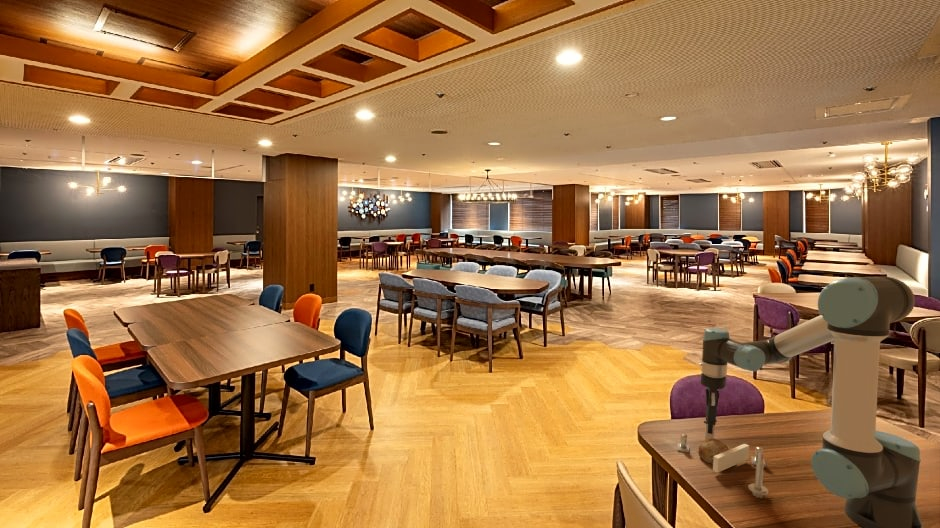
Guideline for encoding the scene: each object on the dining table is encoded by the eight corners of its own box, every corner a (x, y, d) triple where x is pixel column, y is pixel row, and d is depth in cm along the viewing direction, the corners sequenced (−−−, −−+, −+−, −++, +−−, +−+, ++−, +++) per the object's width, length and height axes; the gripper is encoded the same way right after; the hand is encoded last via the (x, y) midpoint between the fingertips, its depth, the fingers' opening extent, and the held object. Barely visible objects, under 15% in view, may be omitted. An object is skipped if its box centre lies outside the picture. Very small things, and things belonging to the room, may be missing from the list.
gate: (748, 459, 151) (749, 445, 151) (717, 472, 143) (718, 458, 143) (743, 457, 153) (744, 443, 152) (712, 470, 144) (713, 456, 144)
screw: (760, 502, 130) (744, 492, 135) (771, 498, 132) (755, 489, 137) (763, 457, 129) (746, 449, 133) (774, 454, 131) (758, 446, 135)
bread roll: (700, 472, 152) (705, 456, 148) (693, 445, 161) (697, 430, 156) (733, 475, 150) (739, 459, 146) (724, 447, 159) (729, 432, 155)
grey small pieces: (765, 467, 149) (766, 452, 148) (677, 450, 159) (678, 436, 159) (763, 460, 153) (764, 446, 152) (677, 445, 163) (678, 431, 163)
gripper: (700, 366, 164) (696, 430, 167) (701, 378, 152) (697, 447, 155) (724, 370, 161) (719, 434, 164) (728, 382, 149) (723, 452, 152)
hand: (708, 440), depth 159 cm, fingers closed
